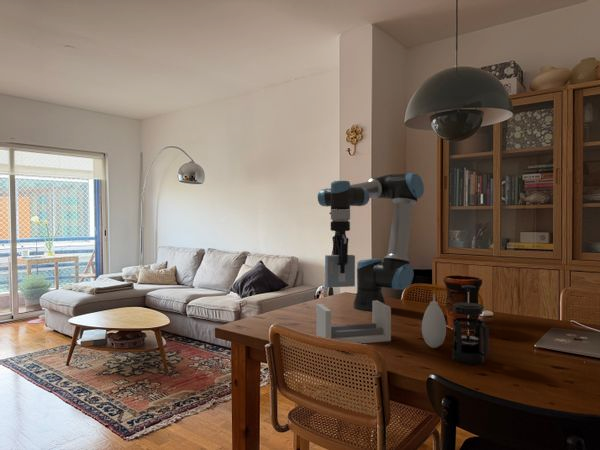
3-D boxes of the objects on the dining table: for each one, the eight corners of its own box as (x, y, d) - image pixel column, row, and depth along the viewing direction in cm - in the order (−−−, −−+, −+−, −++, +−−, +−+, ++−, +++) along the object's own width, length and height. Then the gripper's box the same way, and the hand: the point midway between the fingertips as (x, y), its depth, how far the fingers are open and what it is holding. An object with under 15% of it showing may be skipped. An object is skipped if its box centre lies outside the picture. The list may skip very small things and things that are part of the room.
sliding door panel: (351, 284, 171) (352, 254, 171) (355, 286, 168) (355, 255, 167) (325, 285, 169) (325, 255, 169) (327, 287, 165) (327, 256, 165)
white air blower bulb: (421, 349, 143) (421, 295, 142) (421, 342, 150) (421, 291, 150) (446, 351, 141) (446, 296, 140) (445, 344, 148) (445, 292, 148)
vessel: (435, 323, 176) (436, 274, 175) (466, 322, 179) (468, 274, 178) (454, 333, 162) (456, 280, 161) (488, 331, 165) (490, 279, 164)
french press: (443, 357, 135) (444, 284, 135) (463, 352, 140) (463, 281, 140) (476, 369, 125) (477, 290, 125) (496, 362, 130) (496, 287, 130)
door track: (377, 331, 165) (377, 300, 164) (390, 340, 153) (390, 307, 153) (316, 336, 159) (316, 303, 159) (325, 346, 148) (325, 311, 147)
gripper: (325, 220, 175) (325, 278, 176) (337, 221, 159) (336, 284, 160) (343, 220, 177) (342, 277, 177) (356, 221, 161) (356, 283, 161)
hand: (340, 280), depth 169 cm, fingers closed on sliding door panel, 3 cm apart
